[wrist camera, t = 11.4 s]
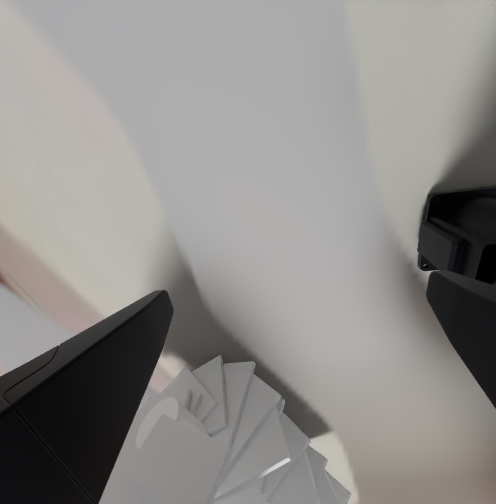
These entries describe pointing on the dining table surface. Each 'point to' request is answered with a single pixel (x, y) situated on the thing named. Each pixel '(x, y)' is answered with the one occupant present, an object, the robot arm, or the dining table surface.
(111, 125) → the dining table surface
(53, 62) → the dining table surface
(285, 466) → the spiral staircase
